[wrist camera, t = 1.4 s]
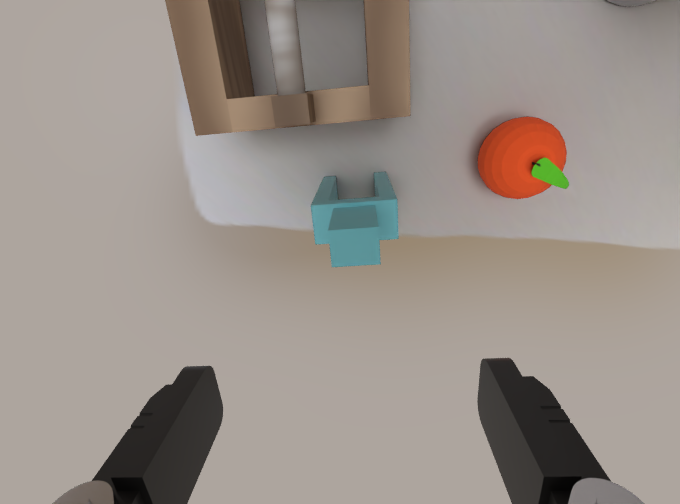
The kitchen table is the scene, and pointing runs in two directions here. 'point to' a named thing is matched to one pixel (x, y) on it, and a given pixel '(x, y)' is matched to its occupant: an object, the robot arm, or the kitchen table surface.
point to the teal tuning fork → (355, 222)
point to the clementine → (523, 158)
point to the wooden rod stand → (283, 68)
